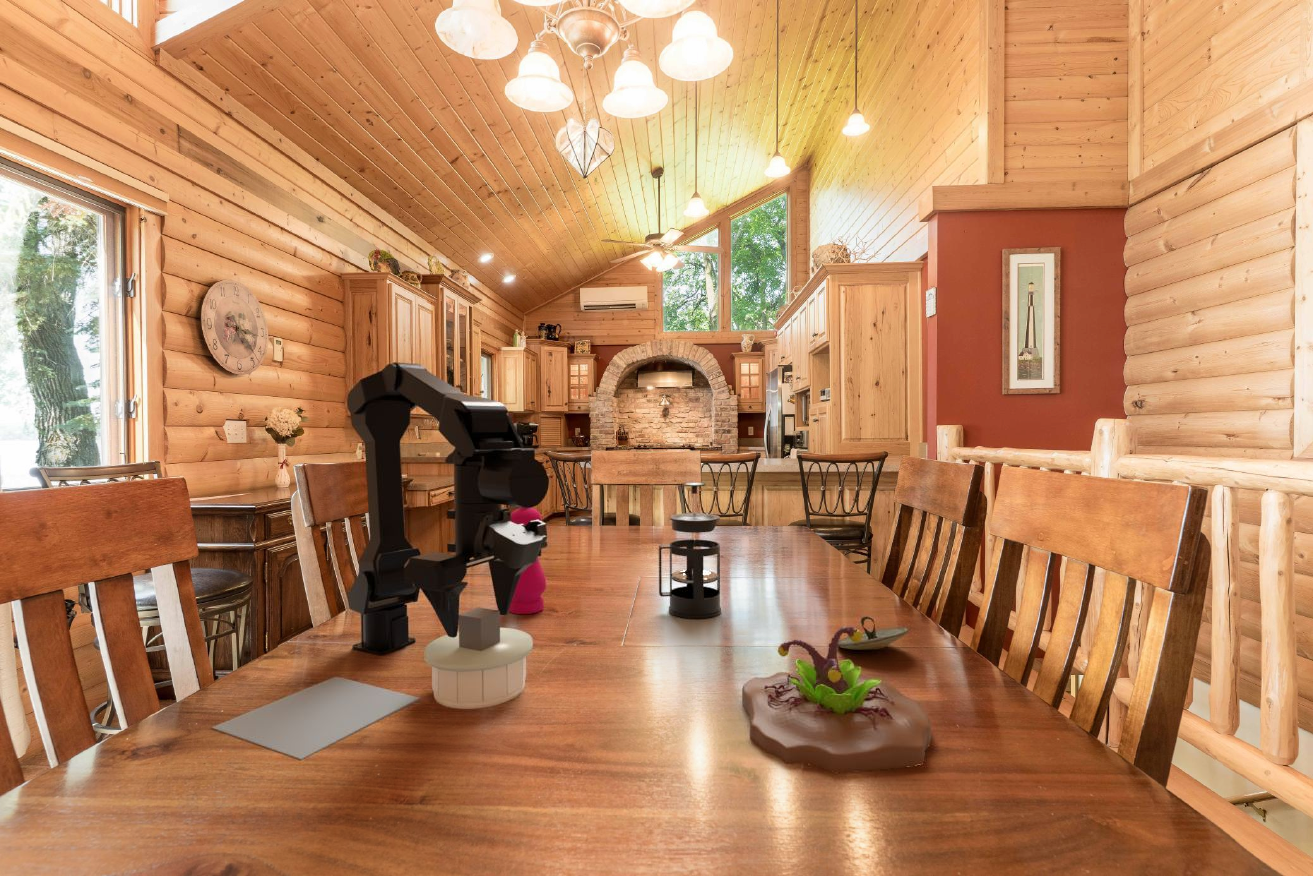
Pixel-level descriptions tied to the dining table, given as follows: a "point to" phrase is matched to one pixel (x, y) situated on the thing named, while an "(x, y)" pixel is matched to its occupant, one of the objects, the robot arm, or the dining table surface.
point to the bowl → (478, 686)
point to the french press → (693, 566)
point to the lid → (874, 638)
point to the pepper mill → (528, 574)
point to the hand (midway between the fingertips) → (479, 625)
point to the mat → (316, 716)
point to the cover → (478, 644)
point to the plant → (835, 715)
